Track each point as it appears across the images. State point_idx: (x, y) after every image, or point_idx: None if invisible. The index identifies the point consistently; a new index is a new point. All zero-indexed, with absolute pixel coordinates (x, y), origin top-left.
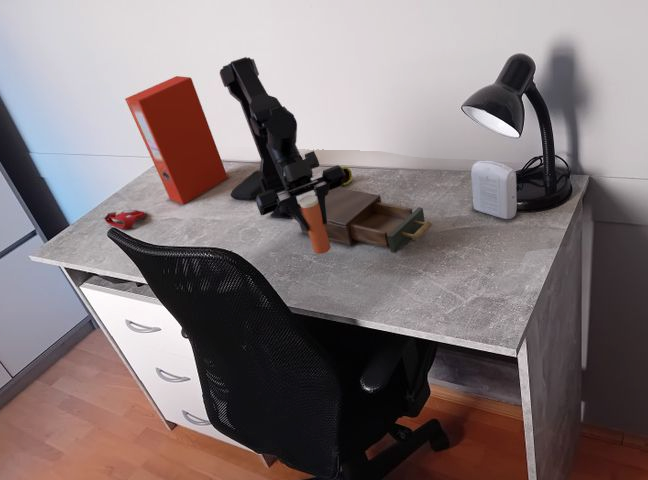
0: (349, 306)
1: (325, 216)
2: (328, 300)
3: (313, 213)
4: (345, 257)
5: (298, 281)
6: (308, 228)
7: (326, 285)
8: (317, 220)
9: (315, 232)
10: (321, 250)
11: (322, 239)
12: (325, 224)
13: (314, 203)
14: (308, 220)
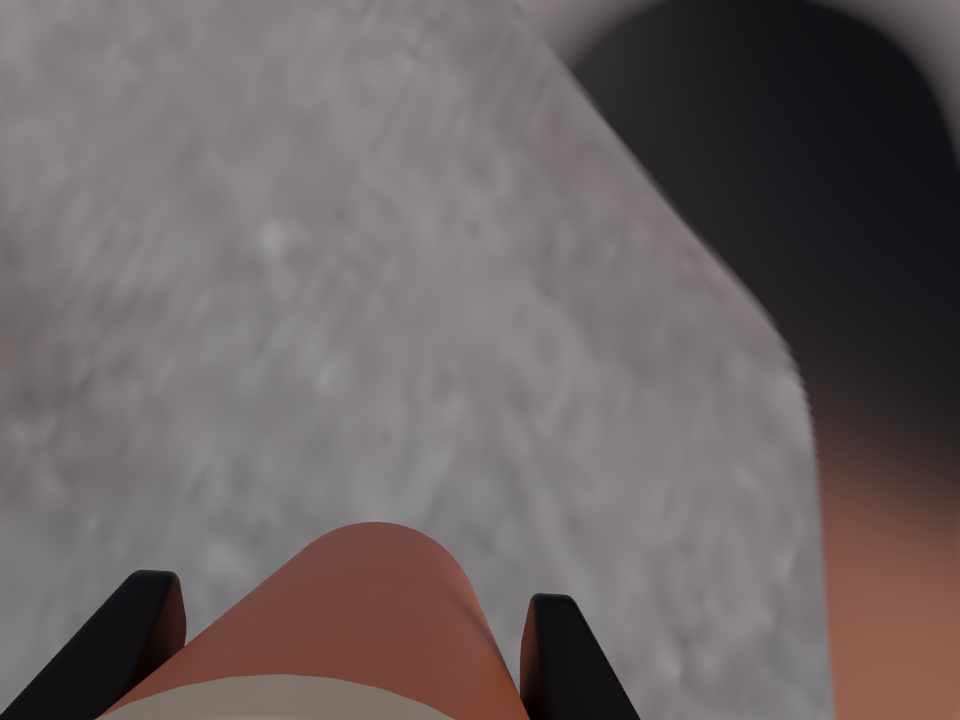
0: (444, 48)
1: (73, 658)
2: (548, 228)
3: (340, 630)
4: None
5: (661, 659)
6: (545, 606)
7: (480, 425)
8: (311, 585)
9: (427, 574)
10: (414, 534)
11: (353, 541)
12: (180, 614)
13: (131, 711)
14: (505, 677)
